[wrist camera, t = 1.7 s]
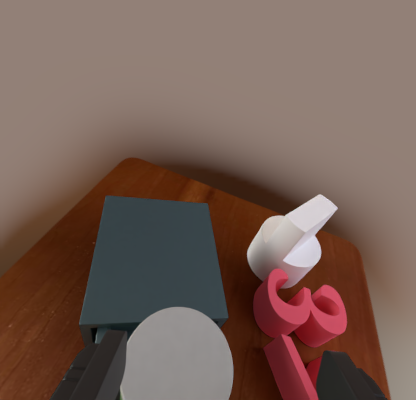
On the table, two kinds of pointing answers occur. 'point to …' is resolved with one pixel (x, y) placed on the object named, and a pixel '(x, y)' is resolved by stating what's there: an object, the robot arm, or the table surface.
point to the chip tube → (177, 358)
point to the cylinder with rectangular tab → (290, 241)
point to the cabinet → (151, 264)
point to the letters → (296, 331)
